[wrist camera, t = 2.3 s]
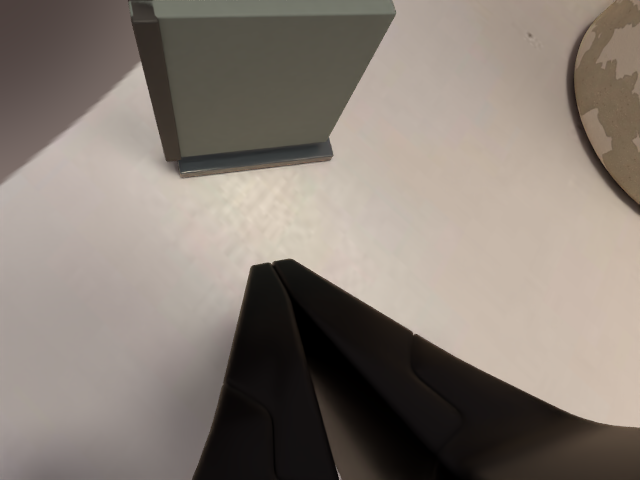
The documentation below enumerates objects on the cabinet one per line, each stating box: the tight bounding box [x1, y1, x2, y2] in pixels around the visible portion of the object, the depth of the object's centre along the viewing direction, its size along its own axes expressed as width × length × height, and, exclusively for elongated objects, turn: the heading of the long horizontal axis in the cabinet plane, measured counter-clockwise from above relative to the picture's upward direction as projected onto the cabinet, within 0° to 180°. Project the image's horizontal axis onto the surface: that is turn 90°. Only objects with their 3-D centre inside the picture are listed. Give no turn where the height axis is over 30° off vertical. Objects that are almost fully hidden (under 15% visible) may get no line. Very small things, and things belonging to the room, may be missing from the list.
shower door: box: [128, 0, 396, 161], centre depth 17 cm, size 1×8×9 cm, turn 104°
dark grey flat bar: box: [178, 137, 333, 178], centre depth 22 cm, size 2×8×1 cm, turn 104°
